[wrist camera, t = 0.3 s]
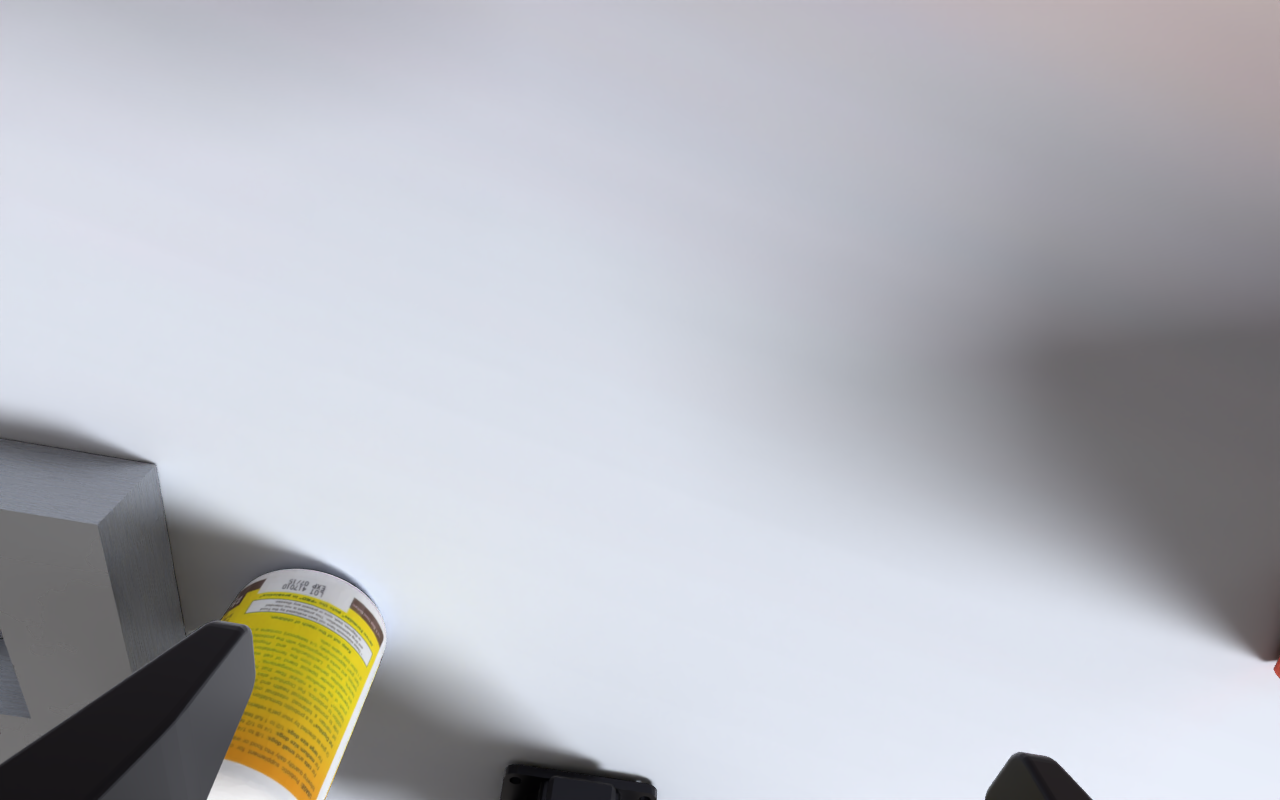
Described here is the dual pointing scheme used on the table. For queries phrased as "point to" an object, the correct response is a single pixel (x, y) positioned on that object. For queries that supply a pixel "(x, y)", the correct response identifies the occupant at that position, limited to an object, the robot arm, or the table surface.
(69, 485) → the jig block
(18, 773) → the robot arm
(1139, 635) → the table surface
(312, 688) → the supplement bottle
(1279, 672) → the cracker box
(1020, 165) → the table surface
